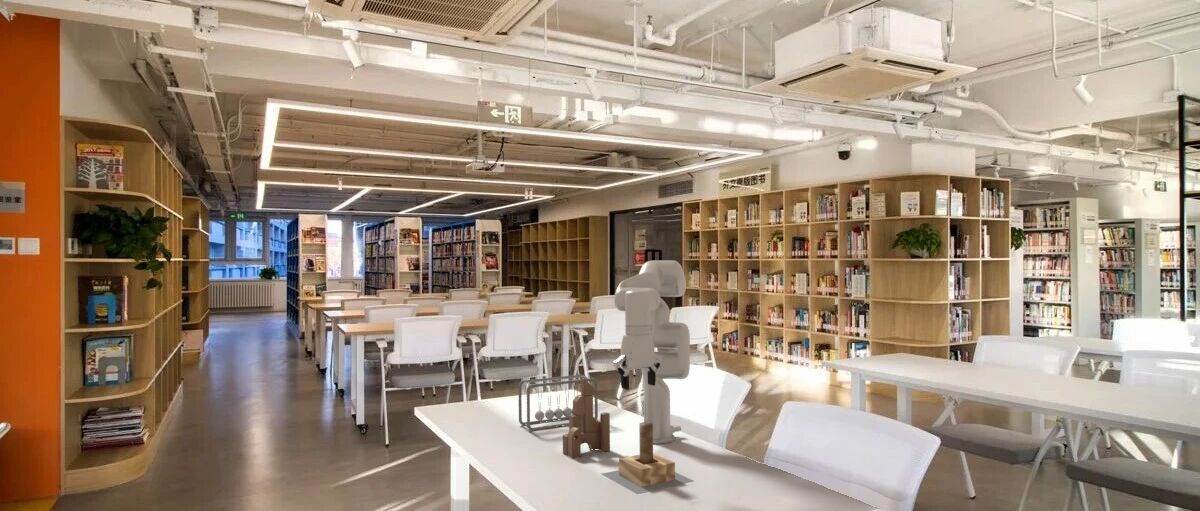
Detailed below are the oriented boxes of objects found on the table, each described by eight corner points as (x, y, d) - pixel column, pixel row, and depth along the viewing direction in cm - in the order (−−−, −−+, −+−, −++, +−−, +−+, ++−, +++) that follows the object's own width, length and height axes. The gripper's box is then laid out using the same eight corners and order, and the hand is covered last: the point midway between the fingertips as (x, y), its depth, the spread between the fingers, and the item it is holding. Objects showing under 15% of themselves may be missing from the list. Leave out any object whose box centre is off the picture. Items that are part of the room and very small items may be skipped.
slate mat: (655, 464, 212) (655, 462, 212) (694, 482, 195) (694, 480, 195) (601, 475, 202) (601, 473, 202) (637, 495, 185) (637, 493, 185)
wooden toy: (571, 458, 220) (570, 382, 219) (562, 453, 225) (561, 379, 225) (611, 451, 227) (610, 378, 227) (601, 446, 233) (601, 375, 233)
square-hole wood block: (651, 468, 207) (651, 452, 207) (675, 479, 197) (674, 462, 197) (619, 475, 201) (618, 458, 201) (641, 487, 191) (641, 469, 191)
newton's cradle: (527, 431, 253) (527, 385, 253) (518, 425, 263) (517, 380, 263) (598, 422, 267) (597, 377, 267) (587, 416, 276) (586, 373, 276)
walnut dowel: (648, 474, 201) (647, 421, 201) (656, 478, 198) (655, 424, 198) (637, 476, 199) (636, 423, 199) (644, 480, 196) (644, 426, 196)
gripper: (653, 327, 210) (654, 381, 210) (607, 331, 201) (607, 388, 201) (668, 329, 203) (668, 385, 204) (620, 334, 194) (621, 392, 195)
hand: (638, 386), depth 202 cm, fingers open, 9 cm apart
